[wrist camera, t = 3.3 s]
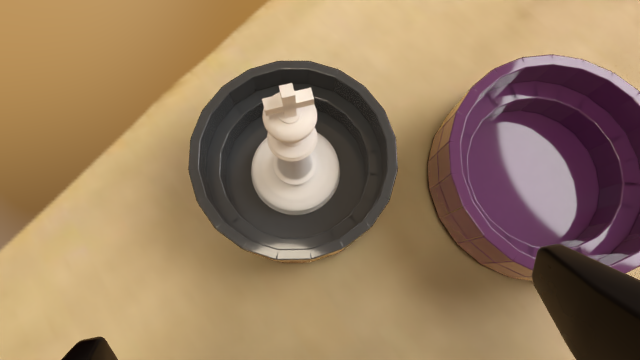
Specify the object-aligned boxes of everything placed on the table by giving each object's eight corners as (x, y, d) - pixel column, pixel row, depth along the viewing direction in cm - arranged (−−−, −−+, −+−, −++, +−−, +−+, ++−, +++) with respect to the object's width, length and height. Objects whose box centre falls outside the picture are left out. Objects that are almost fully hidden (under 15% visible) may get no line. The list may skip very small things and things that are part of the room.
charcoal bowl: (403, 119, 24) (418, 92, 20) (356, 287, 21) (365, 288, 18) (242, 71, 24) (231, 37, 21) (179, 230, 22) (155, 221, 18)
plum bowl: (630, 120, 24) (692, 90, 20) (606, 309, 22) (672, 315, 18) (449, 67, 25) (476, 28, 21) (404, 245, 22) (425, 238, 18)
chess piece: (243, 141, 23) (195, 39, 13) (326, 121, 23) (340, 9, 14) (262, 225, 22) (226, 182, 12) (350, 202, 22) (383, 143, 13)
